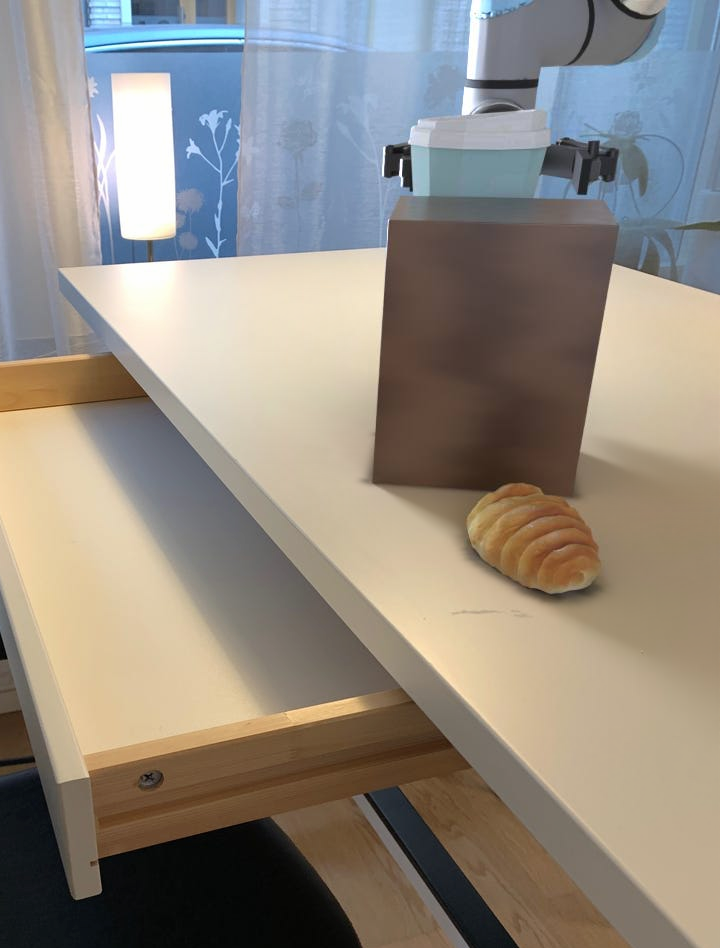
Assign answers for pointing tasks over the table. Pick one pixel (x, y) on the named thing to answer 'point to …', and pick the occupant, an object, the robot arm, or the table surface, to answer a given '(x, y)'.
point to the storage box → (490, 340)
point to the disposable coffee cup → (479, 154)
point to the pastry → (534, 539)
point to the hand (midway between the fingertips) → (498, 175)
